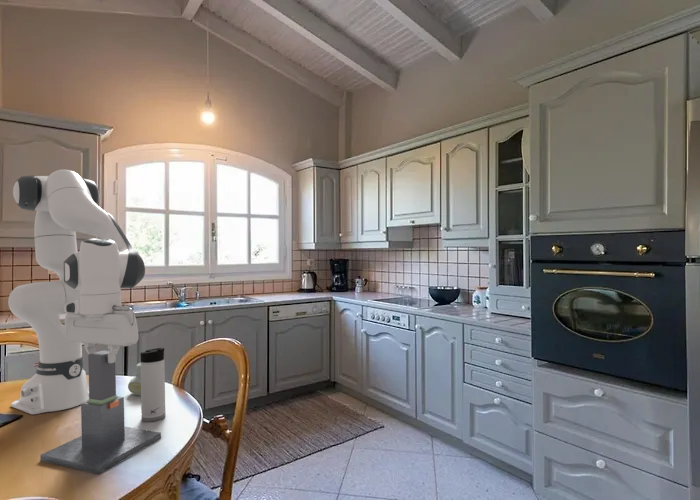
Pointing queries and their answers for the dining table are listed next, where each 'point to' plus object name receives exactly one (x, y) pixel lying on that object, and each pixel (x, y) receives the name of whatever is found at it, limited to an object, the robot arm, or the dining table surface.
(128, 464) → the dining table surface
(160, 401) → the travel mug
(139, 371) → the air freshener
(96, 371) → the post
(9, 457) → the dining table surface
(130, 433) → the stand
